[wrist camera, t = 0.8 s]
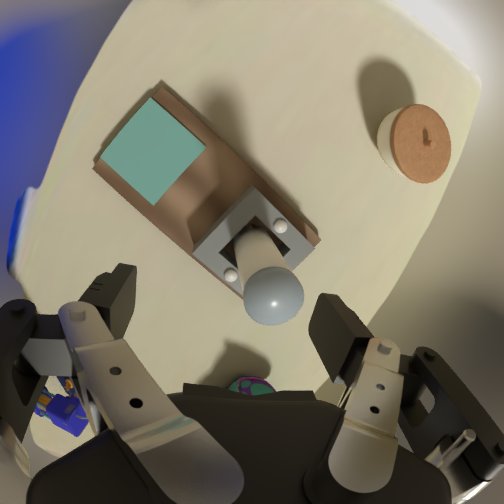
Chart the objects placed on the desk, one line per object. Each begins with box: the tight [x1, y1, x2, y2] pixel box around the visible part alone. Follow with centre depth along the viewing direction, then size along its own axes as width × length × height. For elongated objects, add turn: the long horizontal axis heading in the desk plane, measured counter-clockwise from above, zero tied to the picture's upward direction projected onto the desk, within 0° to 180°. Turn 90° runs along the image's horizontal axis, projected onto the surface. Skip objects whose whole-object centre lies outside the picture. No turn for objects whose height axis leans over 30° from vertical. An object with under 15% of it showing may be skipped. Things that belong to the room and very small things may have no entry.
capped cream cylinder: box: [233, 224, 304, 325], centre depth 32 cm, size 5×5×16 cm
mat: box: [100, 97, 206, 206], centre depth 34 cm, size 10×10×1 cm
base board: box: [92, 87, 321, 299], centre depth 38 cm, size 14×30×1 cm, turn 45°
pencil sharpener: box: [34, 376, 89, 437], centre depth 40 cm, size 14×18×13 cm
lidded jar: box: [377, 104, 451, 183], centre depth 34 cm, size 11×11×9 cm
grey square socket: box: [192, 185, 315, 296], centre depth 38 cm, size 11×11×4 cm
